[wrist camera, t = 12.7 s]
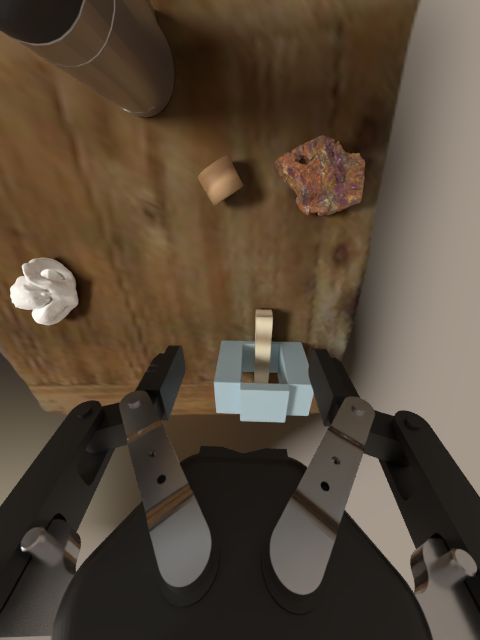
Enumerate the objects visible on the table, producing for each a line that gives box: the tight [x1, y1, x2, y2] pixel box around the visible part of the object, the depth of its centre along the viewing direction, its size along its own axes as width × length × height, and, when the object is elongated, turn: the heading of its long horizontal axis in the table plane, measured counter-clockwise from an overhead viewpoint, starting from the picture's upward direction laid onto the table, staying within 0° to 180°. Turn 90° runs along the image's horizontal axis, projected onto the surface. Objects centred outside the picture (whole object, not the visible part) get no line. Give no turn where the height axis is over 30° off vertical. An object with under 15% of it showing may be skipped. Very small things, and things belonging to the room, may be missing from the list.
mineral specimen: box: [274, 135, 365, 216], centre depth 30 cm, size 12×8×7 cm
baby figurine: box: [10, 257, 78, 325], centre depth 40 cm, size 9×13×9 cm
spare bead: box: [198, 155, 243, 206], centre depth 31 cm, size 4×5×5 cm
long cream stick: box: [254, 310, 273, 384], centre depth 47 cm, size 22×3×3 cm, turn 1°
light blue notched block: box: [214, 341, 314, 422], centre depth 44 cm, size 8×17×14 cm, turn 90°
